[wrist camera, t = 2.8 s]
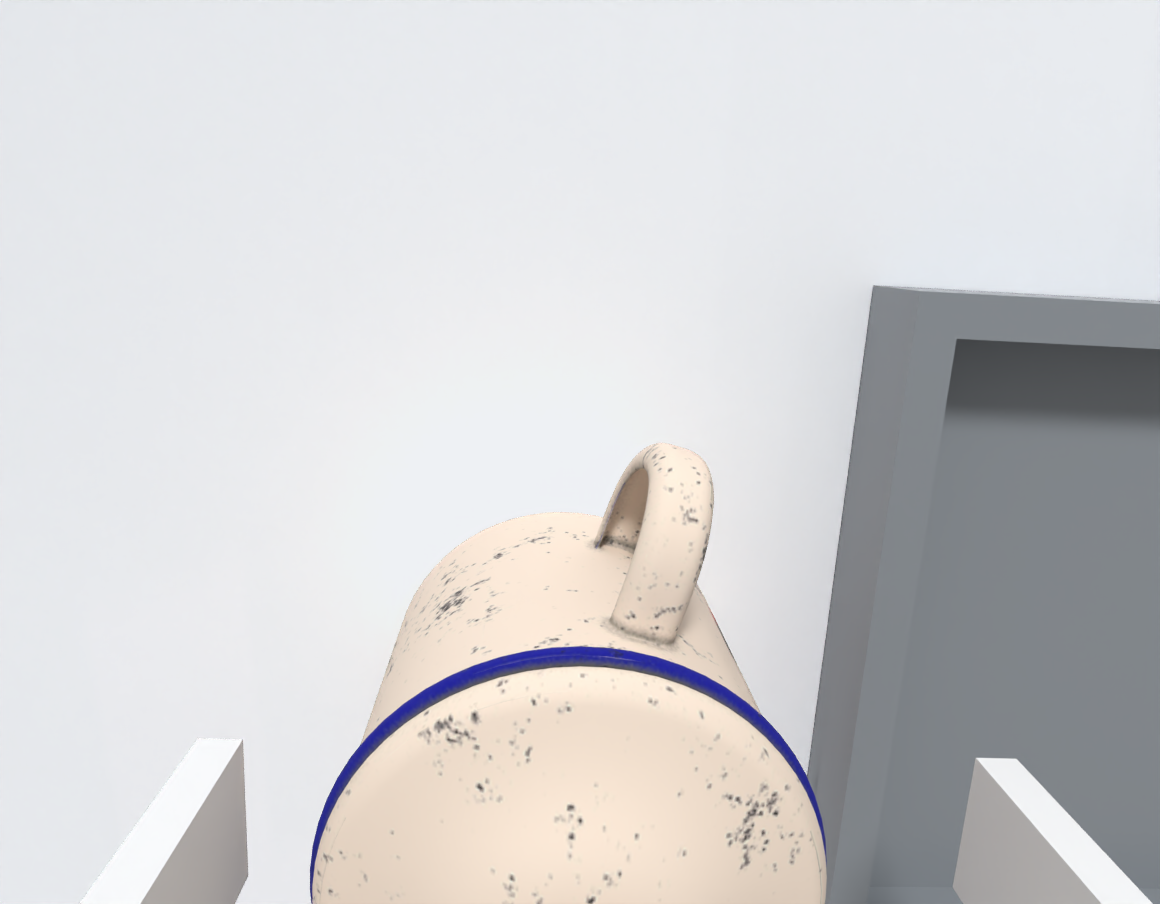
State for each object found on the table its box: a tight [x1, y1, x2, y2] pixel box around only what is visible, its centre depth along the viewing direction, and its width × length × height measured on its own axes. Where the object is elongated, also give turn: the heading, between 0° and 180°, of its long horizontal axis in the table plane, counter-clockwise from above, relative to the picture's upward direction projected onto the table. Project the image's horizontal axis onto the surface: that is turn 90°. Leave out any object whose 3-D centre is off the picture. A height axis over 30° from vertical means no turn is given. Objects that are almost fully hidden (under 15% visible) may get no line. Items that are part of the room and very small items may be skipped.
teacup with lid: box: [310, 443, 827, 904], centre depth 17 cm, size 12×9×12 cm
